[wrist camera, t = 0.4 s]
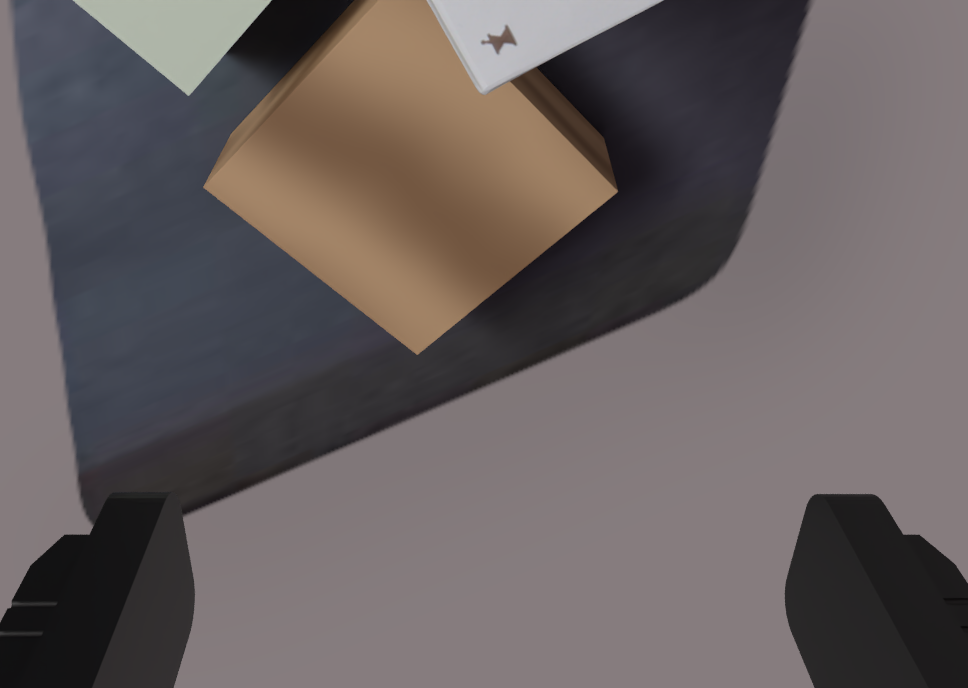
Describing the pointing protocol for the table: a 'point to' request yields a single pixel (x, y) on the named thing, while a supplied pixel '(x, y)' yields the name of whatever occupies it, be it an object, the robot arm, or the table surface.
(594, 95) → the table surface
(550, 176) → the base brick
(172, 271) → the table surface
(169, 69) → the brick
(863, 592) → the robot arm
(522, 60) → the small box
